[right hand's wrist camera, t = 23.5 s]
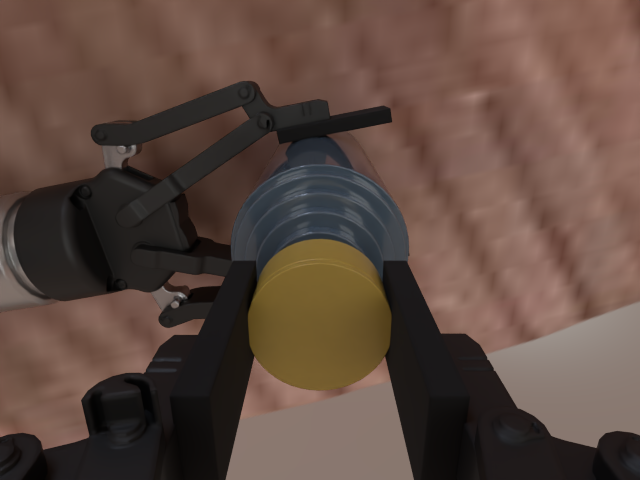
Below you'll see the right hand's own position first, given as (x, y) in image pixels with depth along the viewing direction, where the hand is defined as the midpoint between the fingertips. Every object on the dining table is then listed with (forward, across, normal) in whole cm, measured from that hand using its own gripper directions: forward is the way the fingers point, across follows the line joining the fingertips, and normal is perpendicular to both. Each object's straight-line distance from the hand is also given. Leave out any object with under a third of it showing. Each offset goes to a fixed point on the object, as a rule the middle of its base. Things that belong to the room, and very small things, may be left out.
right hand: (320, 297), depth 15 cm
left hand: (+14, -5, -1) cm, 14 cm away
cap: (-2, 0, 0) cm, 2 cm away
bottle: (+20, 0, 0) cm, 20 cm away
